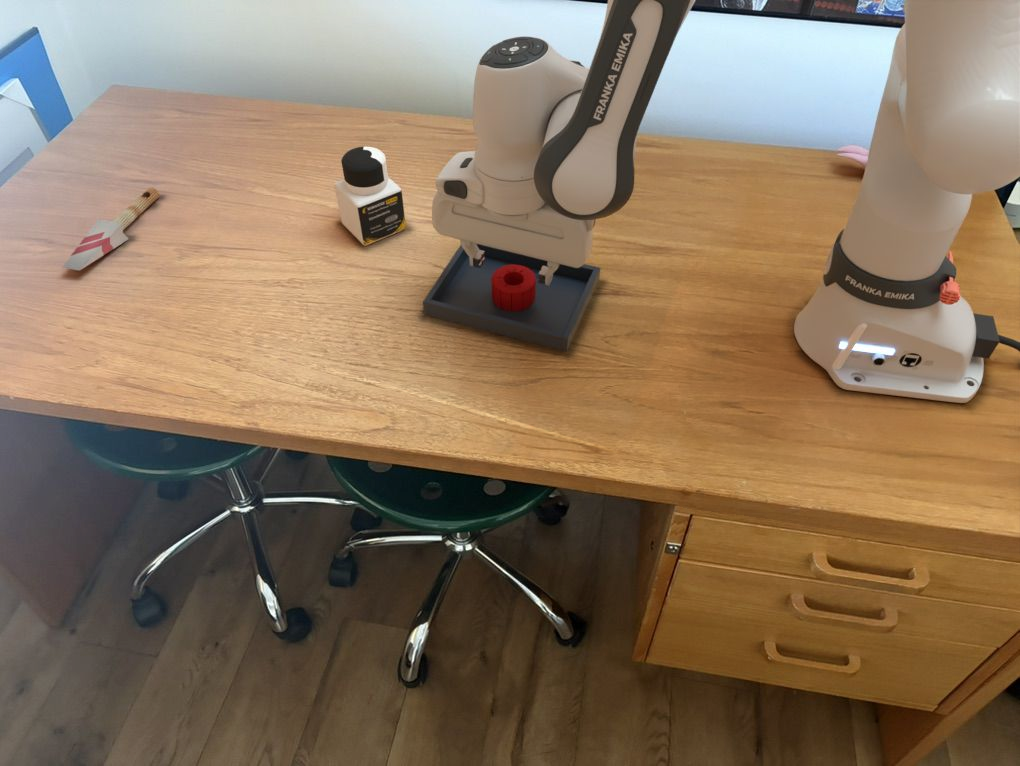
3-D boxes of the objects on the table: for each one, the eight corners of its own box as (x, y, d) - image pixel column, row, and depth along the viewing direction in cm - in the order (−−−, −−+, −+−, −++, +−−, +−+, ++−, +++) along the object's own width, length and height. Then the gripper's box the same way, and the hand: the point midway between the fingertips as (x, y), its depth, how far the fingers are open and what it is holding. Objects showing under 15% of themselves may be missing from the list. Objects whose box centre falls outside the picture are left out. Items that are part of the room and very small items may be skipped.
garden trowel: (54, 257, 108) (140, 182, 121) (62, 273, 110) (146, 198, 123) (78, 262, 107) (163, 186, 121) (86, 278, 109) (168, 202, 122)
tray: (599, 282, 109) (600, 267, 107) (566, 354, 100) (567, 339, 98) (466, 251, 113) (466, 236, 111) (424, 317, 104) (422, 301, 102)
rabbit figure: (924, 181, 128) (833, 151, 129) (945, 149, 123) (851, 119, 124) (924, 202, 124) (830, 171, 125) (946, 171, 119) (848, 139, 120)
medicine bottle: (364, 247, 114) (352, 175, 105) (340, 223, 118) (327, 151, 109) (407, 229, 117) (398, 157, 108) (382, 206, 121) (372, 135, 112)
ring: (540, 288, 107) (541, 270, 105) (526, 315, 104) (526, 297, 101) (501, 279, 109) (501, 260, 106) (485, 305, 105) (485, 286, 103)
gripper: (605, 185, 93) (594, 277, 103) (444, 150, 97) (449, 241, 108) (589, 215, 89) (580, 307, 99) (422, 177, 93) (430, 269, 104)
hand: (511, 272), depth 103 cm, fingers open, 8 cm apart
